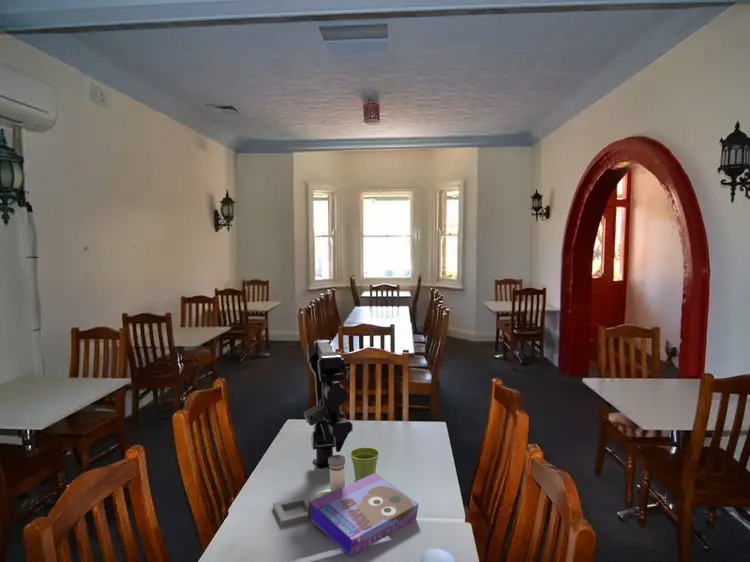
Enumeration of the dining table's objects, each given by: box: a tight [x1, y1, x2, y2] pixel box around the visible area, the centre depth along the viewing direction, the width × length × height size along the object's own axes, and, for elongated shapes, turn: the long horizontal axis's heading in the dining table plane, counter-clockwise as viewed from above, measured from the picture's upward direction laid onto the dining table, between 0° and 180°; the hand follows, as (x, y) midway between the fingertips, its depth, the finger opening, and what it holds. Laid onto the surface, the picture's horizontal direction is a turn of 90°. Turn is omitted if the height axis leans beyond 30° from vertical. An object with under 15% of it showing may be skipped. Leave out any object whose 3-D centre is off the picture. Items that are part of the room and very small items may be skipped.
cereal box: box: [308, 472, 419, 557], centre depth 141 cm, size 17×5×24 cm
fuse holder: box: [272, 495, 311, 527], centre depth 146 cm, size 10×10×2 cm
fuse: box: [328, 454, 346, 492], centre depth 151 cm, size 5×5×13 cm
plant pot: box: [349, 446, 380, 482], centre depth 167 cm, size 9×9×9 cm
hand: (332, 446), depth 161 cm, fingers open, 9 cm apart
